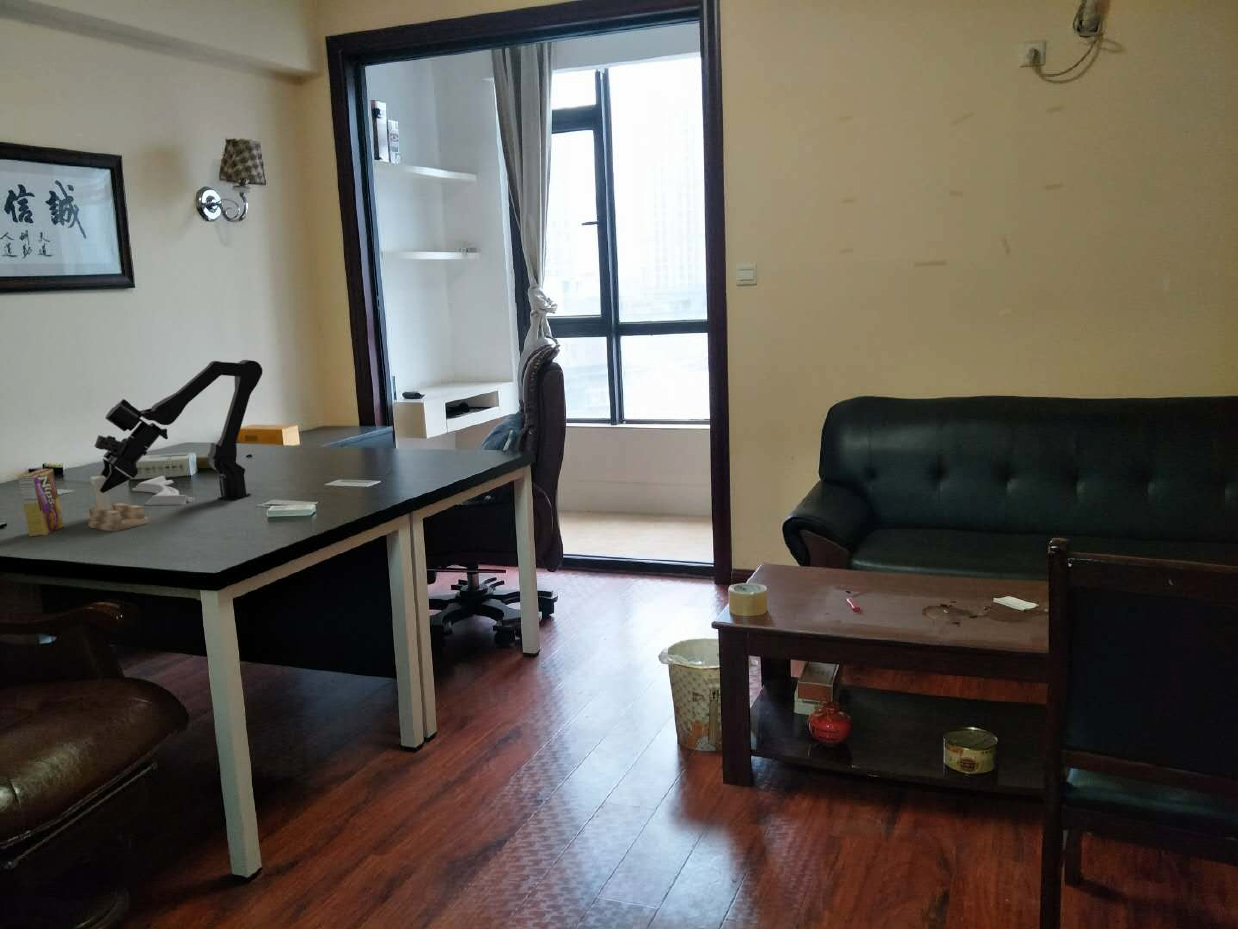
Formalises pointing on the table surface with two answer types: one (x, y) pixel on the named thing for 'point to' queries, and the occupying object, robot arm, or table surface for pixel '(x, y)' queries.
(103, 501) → the grey upright slab
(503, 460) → the table surface
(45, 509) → the candy box
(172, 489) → the molding
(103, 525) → the stand
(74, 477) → the table surface
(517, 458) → the table surface
